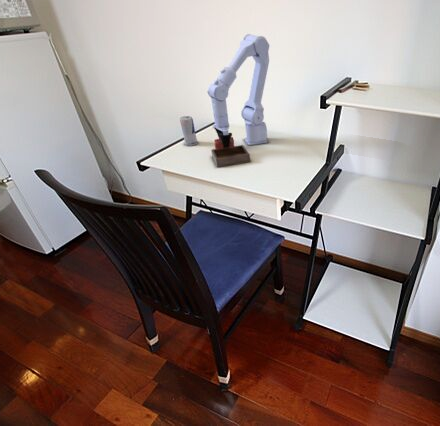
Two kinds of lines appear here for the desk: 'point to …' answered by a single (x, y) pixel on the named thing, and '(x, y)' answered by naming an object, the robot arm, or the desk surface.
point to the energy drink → (188, 130)
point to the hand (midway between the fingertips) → (224, 145)
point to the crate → (230, 155)
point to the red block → (219, 144)
